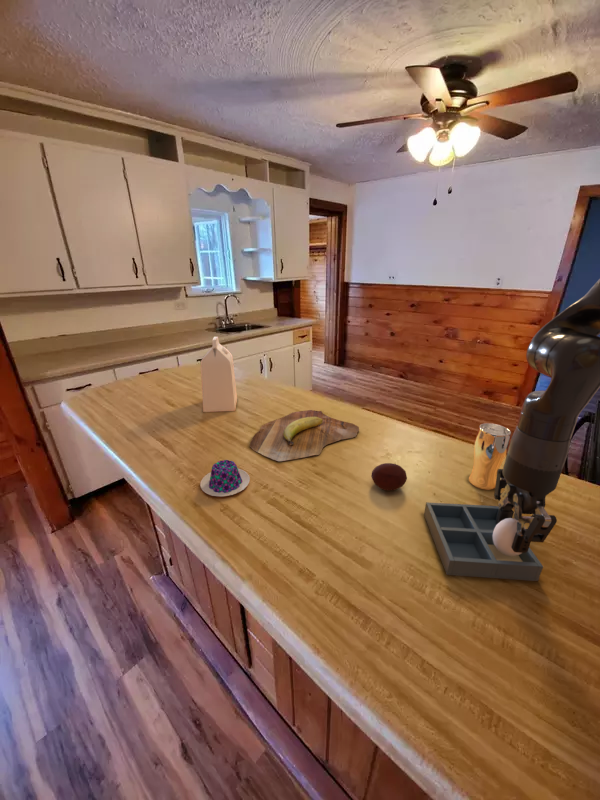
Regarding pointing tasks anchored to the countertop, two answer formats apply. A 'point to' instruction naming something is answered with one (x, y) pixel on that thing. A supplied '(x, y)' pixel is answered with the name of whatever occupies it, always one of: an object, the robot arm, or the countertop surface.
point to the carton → (475, 543)
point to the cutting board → (300, 435)
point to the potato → (389, 476)
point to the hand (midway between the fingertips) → (509, 537)
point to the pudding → (224, 479)
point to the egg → (505, 536)
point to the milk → (218, 379)
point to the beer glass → (489, 454)
